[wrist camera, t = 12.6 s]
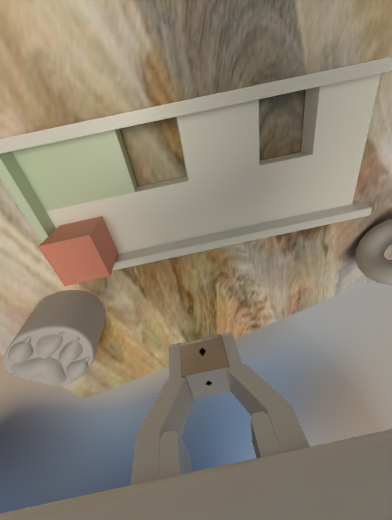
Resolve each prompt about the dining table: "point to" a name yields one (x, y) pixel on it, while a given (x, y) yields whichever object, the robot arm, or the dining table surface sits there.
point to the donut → (376, 253)
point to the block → (80, 251)
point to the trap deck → (202, 169)
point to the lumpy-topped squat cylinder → (57, 339)
